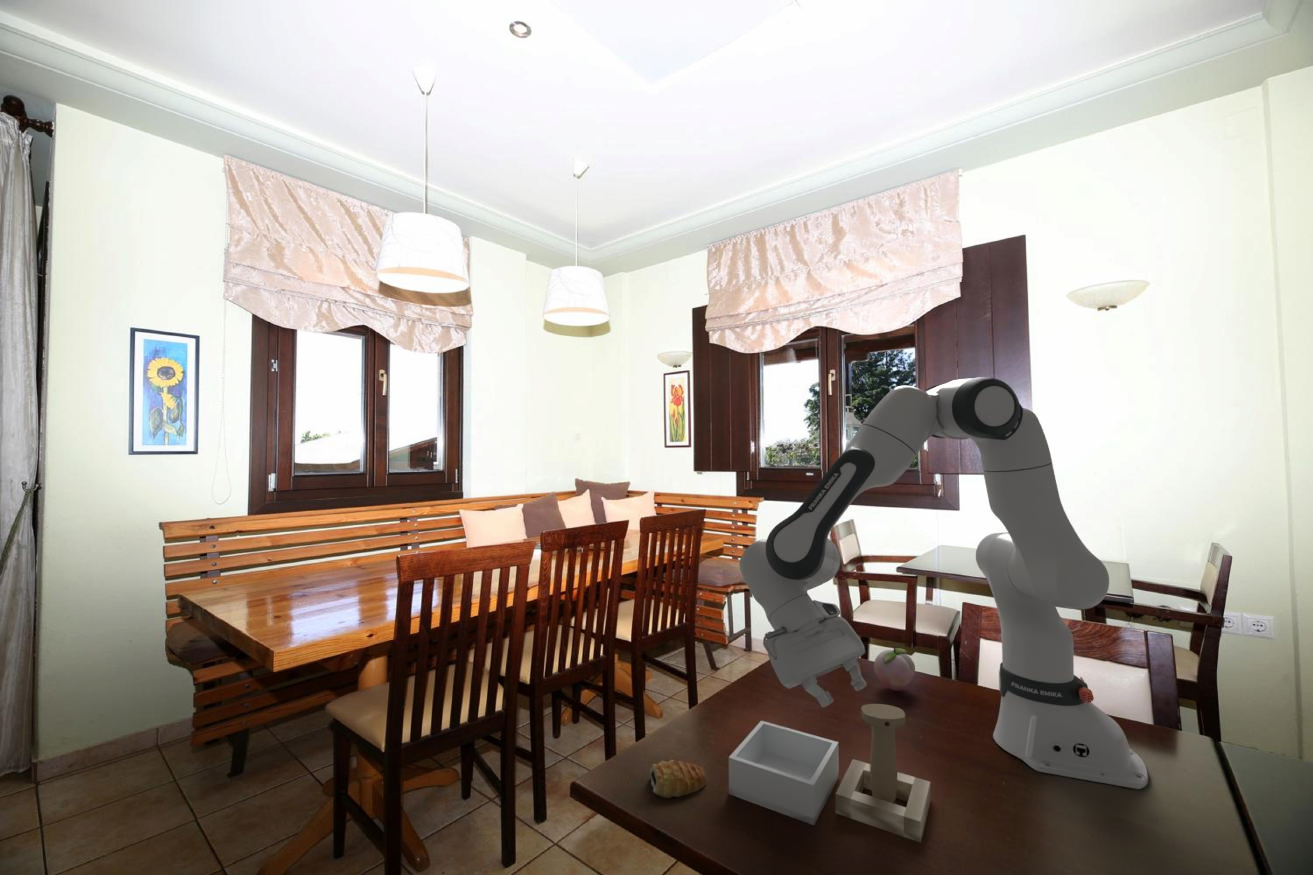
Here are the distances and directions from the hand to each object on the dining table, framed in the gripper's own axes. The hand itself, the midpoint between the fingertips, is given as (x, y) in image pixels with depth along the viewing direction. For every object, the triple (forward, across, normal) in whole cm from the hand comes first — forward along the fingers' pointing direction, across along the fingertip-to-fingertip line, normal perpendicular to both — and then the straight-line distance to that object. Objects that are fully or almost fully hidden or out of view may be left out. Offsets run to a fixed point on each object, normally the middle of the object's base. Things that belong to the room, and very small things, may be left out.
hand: (845, 696), depth 93 cm
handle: (+15, 0, +6) cm, 17 cm away
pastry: (-2, -22, +24) cm, 33 cm away
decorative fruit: (+1, +39, +21) cm, 44 cm away
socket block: (+15, 0, +6) cm, 16 cm away
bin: (+6, -8, +15) cm, 18 cm away
